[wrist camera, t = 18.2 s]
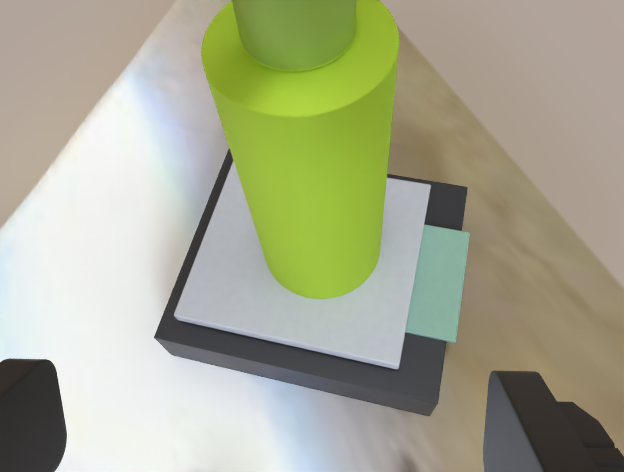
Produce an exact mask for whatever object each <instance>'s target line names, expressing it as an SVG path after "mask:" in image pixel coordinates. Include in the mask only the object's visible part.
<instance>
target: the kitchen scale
mask: <svg viewBox="0 0 624 472" xmlns="http://www.w3.org/2000/svg"><path fill="white" fill-rule="evenodd" d="M466 196H467V187H463V186H457V185H451V184H445V183H439V182H433V181H427V180H421V179H414V178H408V177H402V176H396V175H390V174H387V181H386V192H385V203H384V214H383V225H382V236H381V247H380V255H379V259H378V262H377V264H376V267H375V269H374V270H373V272H372V273H371V275H370V276H369V277H368V279H367V280H366V281H365V282H364V283H363V284H361V285H360V286H359V287H357V288H356V289H354V290H353V291H351V292H349V293H347V294H344V295H342V296H338V297H334V298H328V299H314V298H308V297H304V296H300V295H298V294H295V293H293V292H291V291H289V290H288V289H286V288H285V287H283V286H282V285H281V284H280V283H279V282H278V281H277V280H276V279H275V278H274V276H273V275H272V273H271V272H270V270H269V268H268V266H267V263H266V260H265V257H264V254H263V250H262V247H261V244H260V241H259V238H258V235H257V232H256V229H255V226H254V223H253V219H252V216H251V213H250V210H249V207H248V204H247V201H246V198H245V195H244V191H243V188H242V185H241V182H240V179H239V176H238V173H237V170H236V167H235V163H234V160H233V157H232V154H231V151H230V148H229V150H228V152H227V155H226V157H225V160H224V162H223V165H222V167H221V170H220V172H219V175H218V177H217V180H216V183H215V185H214V188H213V190H212V193H211V195H210V198H209V200H208V203H207V205H206V208H205V210H204V213H203V215H202V218H201V220H200V223H199V225H198V228H197V230H196V233H195V235H194V238H193V240H192V243H191V246H190V248H189V251H188V253H187V256H186V258H185V261H184V263H183V266H182V268H181V271H180V273H179V276H178V278H177V281H176V283H175V286H174V288H173V291H172V293H171V296H170V298H169V301H168V303H167V306H166V308H165V311H164V314H163V316H162V319H161V321H160V324H159V326H158V329H157V331H156V334H155V336H154V338H155V339H156V340H157V341H158V342H159V343H160V344H161V345H162V346H163V347H164V348H165V349H166V350H167V351H168V352H169V353H170V354H171V355H174V356H178V357H183V358H187V359H191V360H195V361H199V362H204V363H208V364H212V365H216V366H220V367H225V368H229V369H233V370H237V371H241V372H246V373H250V374H254V375H258V376H262V377H267V378H271V379H275V380H279V381H283V382H288V383H292V384H296V385H300V386H304V387H309V388H313V389H317V390H321V391H325V392H330V393H334V394H338V395H342V396H346V397H351V398H355V399H359V400H363V401H367V402H372V403H376V404H380V405H384V406H388V407H393V408H397V409H401V410H405V411H409V412H414V413H418V414H422V415H426V416H430V415H431V413H432V411H433V410H434V408H435V407H436V405H437V404H438V399H439V391H440V384H441V377H442V370H443V362H444V355H445V348H446V341H448V342H452V343H455V342H456V336H457V329H458V321H459V313H460V306H461V298H462V290H463V282H464V275H465V267H466V259H467V252H468V244H469V236H470V233H469V232H463V231H462V225H463V217H464V210H465V203H466Z"/></svg>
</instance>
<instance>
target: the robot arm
mask: <svg viewBox="0 0 624 472" xmlns="http://www.w3.org/2000/svg"><path fill="white" fill-rule="evenodd" d="M66 440H67V432H66V425H65V419H64V413H63V407H62V401H61V395H60V389H59V383H58V378H57V372H56V369H55V366H54V364H53V363H52V362H51V361H49V360H46V359H6V360H3V361H2V362H0V472H54V471H55V470H56V469H57V467H58V466H59V464H60V462H61V460H62V458H63V455H64V451H65V447H66ZM483 460H484V470H485V472H624V457H623V455H622V454H621V452H620V451H619V450H618V448H615V446H614V443H613V441H612V440H611V438H610V437H609V435H608V434H607V433H606V431H605V430H604V428H603V427H602V426H601V424H600V423H599V421H597V420H596V419H595V418H593V417H592V416H591V415H589V414H588V413H587V412H585V411H584V410H582V409H581V408H580V407H578V406H577V405H576V404H574V403H573V402H557V401H556V400H555V398H554V396H553V395H552V393H551V392H550V390H549V388H548V387H547V385H546V384H545V382H544V380H543V379H542V377H541V376H540V374H539V373H538V372H528V371H492V372H491V374H490V378H489V384H488V396H487V408H486V420H485V432H484V445H483Z"/></svg>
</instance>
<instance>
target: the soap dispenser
mask: <svg viewBox="0 0 624 472" xmlns="http://www.w3.org/2000/svg"><path fill="white" fill-rule="evenodd" d="M398 51H399V34H398V29H397V26H396V23H395V20H394V18H393V16H392V15H391V13H390V12H389V10H388V9H387V8H386V6H385V5H384V4H383V3H382V2H381V1H380V0H232V1H231V2H229V3H228V4H227V5H226V6H225V7H224V8H223V9H221V11H220V12H219V13H218V14H217V15H216V16H215V18H214V19H213V20H212V22H211V23H210V25H209V27H208V29H207V31H206V33H205V36H204V39H203V44H202V62H203V67H204V70H205V73H206V77H207V80H208V83H209V86H210V89H211V92H212V95H213V98H214V101H215V104H216V108H217V111H218V114H219V117H220V120H221V123H222V126H223V129H224V132H225V136H226V139H227V142H228V145H229V148H230V151H231V154H232V157H233V160H234V163H235V167H236V170H237V173H238V176H239V179H240V182H241V185H242V188H243V191H244V195H245V198H246V201H247V204H248V207H249V210H250V213H251V216H252V219H253V223H254V226H255V229H256V232H257V235H258V238H259V241H260V244H261V247H262V250H263V254H264V257H265V260H266V263H267V266H268V268H269V270H270V272H271V273H272V275H273V276H274V278H275V279H276V280H277V281H278V282H279V283H280V284H281V285H282V286H283V287H285V288H286V289H288V290H289V291H291V292H293V293H295V294H298V295H300V296H304V297H308V298H314V299H328V298H334V297H338V296H342V295H344V294H347V293H349V292H351V291H353V290H354V289H356V288H357V287H359V286H360V285H361V284H363V283H364V282H365V281H366V280H367V279H368V277H369V276H370V275H371V273H372V272H373V270H374V269H375V267H376V264H377V262H378V259H379V255H380V247H381V236H382V225H383V214H384V203H385V192H386V181H387V171H388V160H389V149H390V138H391V127H392V116H393V105H394V94H395V83H396V72H397V62H398Z"/></svg>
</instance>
